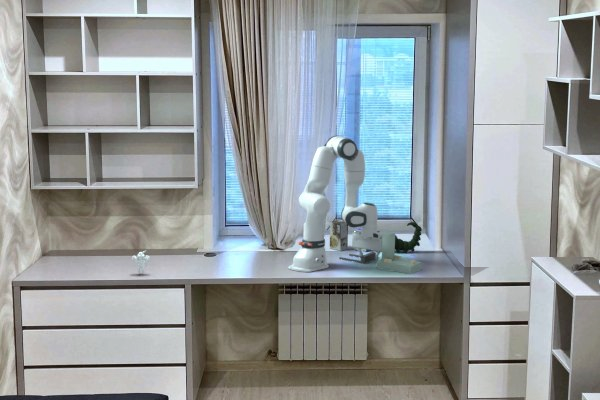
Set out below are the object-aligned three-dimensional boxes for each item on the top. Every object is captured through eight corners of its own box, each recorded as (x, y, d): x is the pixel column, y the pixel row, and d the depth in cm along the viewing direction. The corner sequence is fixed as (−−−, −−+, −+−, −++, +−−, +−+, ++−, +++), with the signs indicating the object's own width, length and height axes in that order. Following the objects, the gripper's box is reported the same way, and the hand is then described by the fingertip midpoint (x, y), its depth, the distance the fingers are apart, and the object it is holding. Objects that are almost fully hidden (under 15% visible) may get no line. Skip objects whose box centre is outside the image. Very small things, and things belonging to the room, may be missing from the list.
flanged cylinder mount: (410, 274, 393) (411, 239, 390) (376, 268, 404) (377, 234, 401) (421, 269, 403) (422, 235, 400) (387, 263, 414) (388, 230, 411)
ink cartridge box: (371, 250, 445) (372, 225, 442) (366, 252, 440) (366, 227, 438) (357, 247, 451) (357, 223, 448) (351, 249, 446) (352, 225, 444)
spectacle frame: (364, 263, 413) (364, 256, 413) (338, 259, 423) (339, 252, 422) (375, 259, 423) (376, 252, 422) (350, 255, 432) (350, 248, 432)
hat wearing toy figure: (150, 272, 393) (150, 249, 391) (149, 274, 389) (148, 251, 387) (132, 272, 392) (132, 249, 390) (131, 274, 389) (130, 251, 387)
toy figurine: (417, 253, 445) (374, 248, 446) (421, 221, 442) (378, 216, 443) (419, 257, 436) (375, 252, 437) (423, 224, 433) (378, 219, 434)
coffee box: (348, 249, 446) (348, 222, 444) (340, 251, 442) (340, 223, 439) (336, 246, 453) (337, 219, 450) (329, 248, 449) (329, 221, 446)
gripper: (349, 231, 420) (349, 255, 422) (382, 235, 408) (382, 261, 411) (355, 229, 425) (355, 253, 427) (388, 233, 413) (387, 258, 416)
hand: (368, 257), depth 419 cm, fingers open, 8 cm apart
